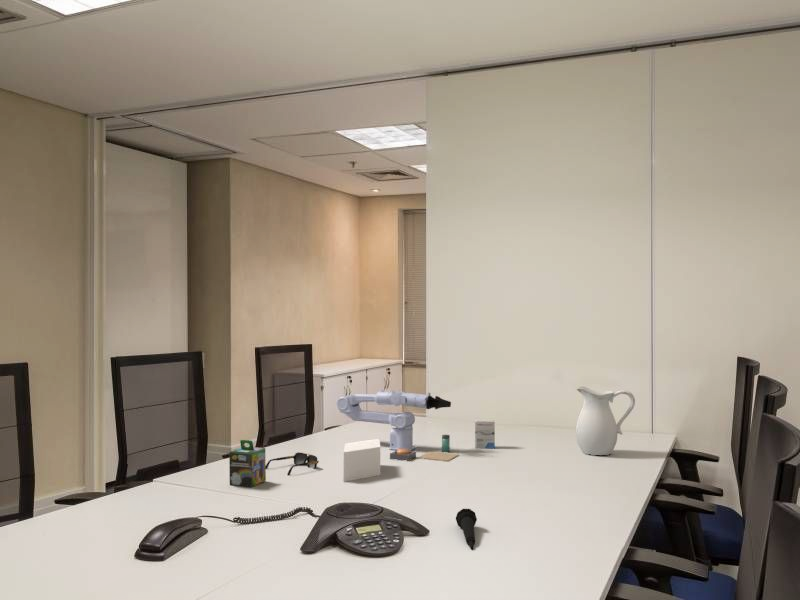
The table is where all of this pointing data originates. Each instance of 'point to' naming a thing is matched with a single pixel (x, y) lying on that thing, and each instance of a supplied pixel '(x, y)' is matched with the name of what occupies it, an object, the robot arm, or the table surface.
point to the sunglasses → (299, 460)
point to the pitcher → (599, 421)
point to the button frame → (402, 456)
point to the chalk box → (247, 465)
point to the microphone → (467, 525)
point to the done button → (403, 451)
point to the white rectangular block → (361, 459)
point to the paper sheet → (438, 456)
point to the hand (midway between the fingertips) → (447, 404)
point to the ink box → (484, 434)
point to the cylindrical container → (445, 443)
